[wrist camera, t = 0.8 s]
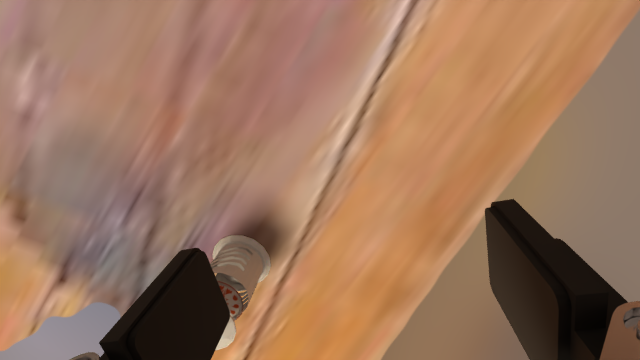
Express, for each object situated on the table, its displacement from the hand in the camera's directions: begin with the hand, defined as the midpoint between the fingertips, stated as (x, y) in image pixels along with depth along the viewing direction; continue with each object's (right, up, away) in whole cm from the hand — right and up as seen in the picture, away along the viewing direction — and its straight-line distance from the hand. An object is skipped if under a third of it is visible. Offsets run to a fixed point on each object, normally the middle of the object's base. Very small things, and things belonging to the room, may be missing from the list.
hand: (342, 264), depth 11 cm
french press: (-14, -11, +43) cm, 47 cm away
